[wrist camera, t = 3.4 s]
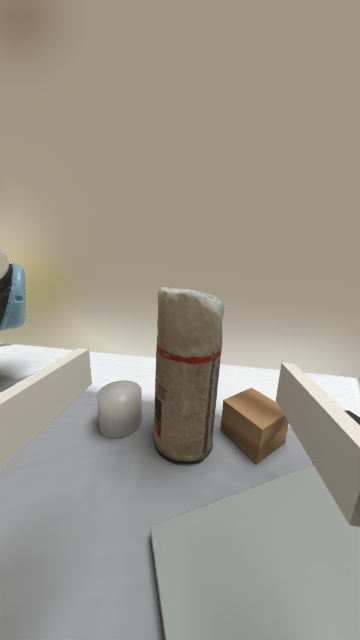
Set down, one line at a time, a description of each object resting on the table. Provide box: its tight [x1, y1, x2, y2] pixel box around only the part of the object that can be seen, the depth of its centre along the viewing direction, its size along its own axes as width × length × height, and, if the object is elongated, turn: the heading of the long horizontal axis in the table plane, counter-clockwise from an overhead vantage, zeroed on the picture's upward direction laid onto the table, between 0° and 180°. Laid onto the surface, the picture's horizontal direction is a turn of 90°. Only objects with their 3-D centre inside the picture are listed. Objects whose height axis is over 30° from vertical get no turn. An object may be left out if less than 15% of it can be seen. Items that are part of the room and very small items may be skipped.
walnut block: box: [221, 388, 289, 464], centre depth 26 cm, size 6×6×5 cm
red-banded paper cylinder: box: [153, 287, 224, 462], centre depth 24 cm, size 8×8×20 cm
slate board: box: [151, 465, 360, 640], centre depth 12 cm, size 20×16×1 cm
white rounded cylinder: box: [97, 381, 142, 439], centre depth 28 cm, size 6×6×5 cm
